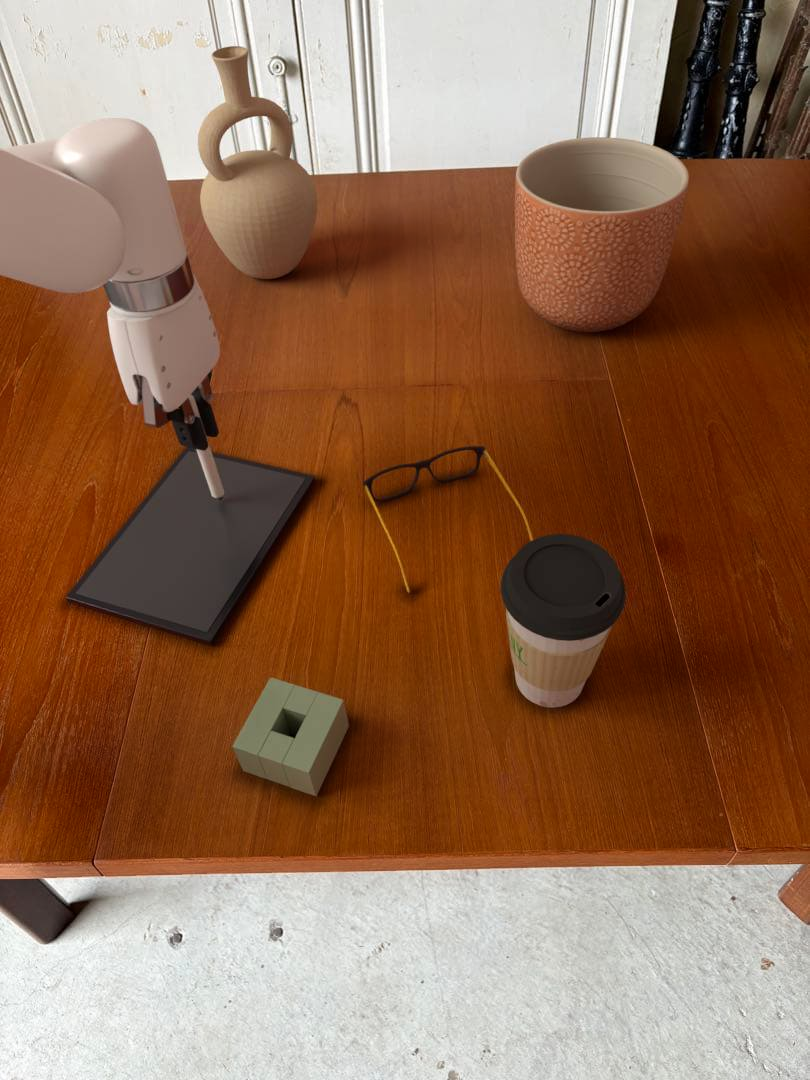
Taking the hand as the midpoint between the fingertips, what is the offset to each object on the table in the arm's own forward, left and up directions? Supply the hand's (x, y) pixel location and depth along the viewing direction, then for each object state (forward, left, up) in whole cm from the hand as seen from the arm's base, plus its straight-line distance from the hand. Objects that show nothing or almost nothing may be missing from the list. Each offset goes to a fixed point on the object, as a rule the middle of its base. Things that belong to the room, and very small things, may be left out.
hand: (199, 439), depth 84 cm
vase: (-18, +48, -10) cm, 52 cm away
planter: (+30, +50, -10) cm, 59 cm away
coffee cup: (+40, -10, -10) cm, 42 cm away
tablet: (0, -5, -10) cm, 11 cm away
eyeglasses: (+25, +5, -10) cm, 28 cm away
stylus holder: (+21, -24, -10) cm, 33 cm away
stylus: (0, 0, -9) cm, 9 cm away
